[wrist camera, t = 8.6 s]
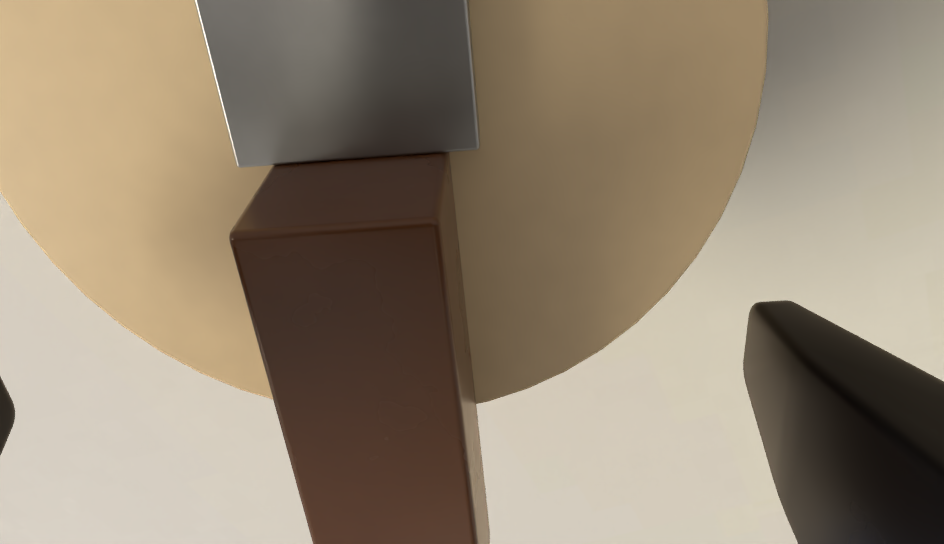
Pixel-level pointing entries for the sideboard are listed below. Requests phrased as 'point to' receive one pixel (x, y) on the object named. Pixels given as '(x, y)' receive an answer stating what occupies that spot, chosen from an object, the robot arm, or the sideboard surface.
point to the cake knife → (359, 253)
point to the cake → (473, 172)
